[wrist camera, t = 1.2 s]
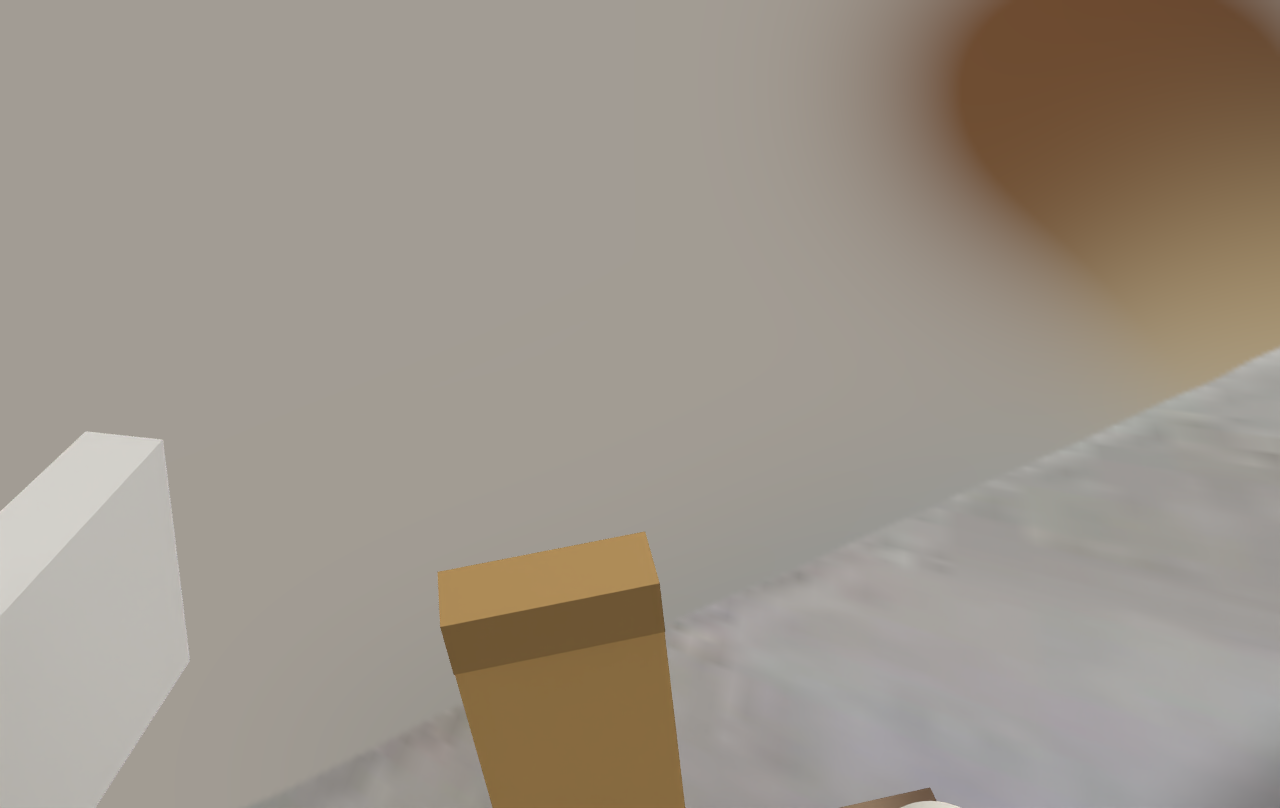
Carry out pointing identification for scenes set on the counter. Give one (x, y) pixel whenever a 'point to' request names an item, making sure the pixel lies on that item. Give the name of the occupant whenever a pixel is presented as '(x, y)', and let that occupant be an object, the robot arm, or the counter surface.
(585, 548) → the tan tall block
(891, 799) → the console
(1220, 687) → the counter surface
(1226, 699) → the counter surface
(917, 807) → the push button
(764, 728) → the counter surface
